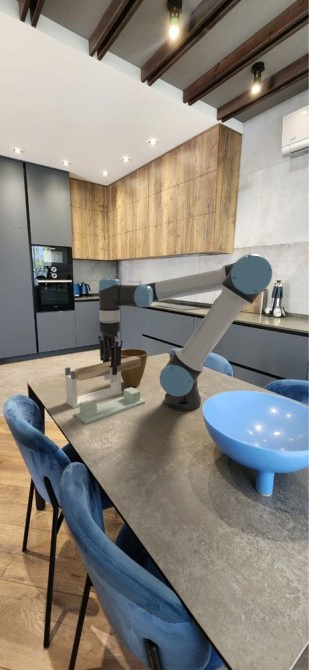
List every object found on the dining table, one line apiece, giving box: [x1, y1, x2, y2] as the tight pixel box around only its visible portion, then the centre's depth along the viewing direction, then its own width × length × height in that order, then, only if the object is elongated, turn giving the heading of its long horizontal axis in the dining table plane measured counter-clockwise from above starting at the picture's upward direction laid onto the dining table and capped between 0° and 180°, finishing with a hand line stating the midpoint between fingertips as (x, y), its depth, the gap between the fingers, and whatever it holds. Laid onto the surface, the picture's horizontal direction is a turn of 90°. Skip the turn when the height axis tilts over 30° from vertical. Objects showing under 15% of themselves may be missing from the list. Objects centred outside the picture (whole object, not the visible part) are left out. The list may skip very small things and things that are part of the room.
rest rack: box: [73, 387, 146, 425], centre depth 111 cm, size 9×27×5 cm, turn 131°
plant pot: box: [121, 348, 149, 388], centre depth 136 cm, size 15×15×16 cm
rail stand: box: [64, 366, 123, 409], centre depth 120 cm, size 7×23×15 cm, turn 131°
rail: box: [74, 356, 141, 382], centre depth 108 cm, size 4×27×4 cm, turn 131°
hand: (110, 380), depth 110 cm, fingers closed on rail, 3 cm apart
